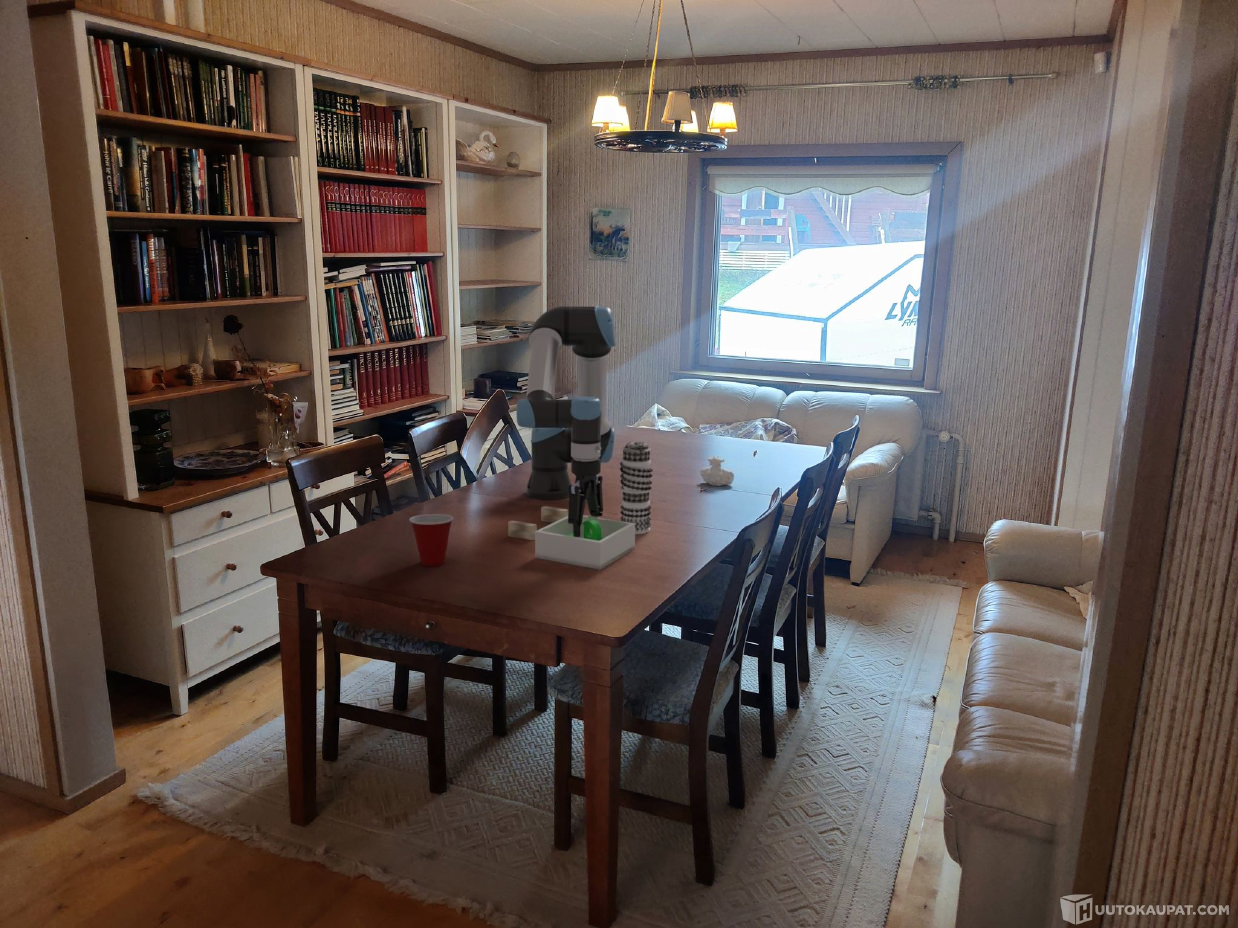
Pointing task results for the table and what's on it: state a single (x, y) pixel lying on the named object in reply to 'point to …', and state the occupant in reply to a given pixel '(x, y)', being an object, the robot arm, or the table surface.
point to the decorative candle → (636, 485)
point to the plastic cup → (431, 537)
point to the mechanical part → (595, 529)
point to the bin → (585, 543)
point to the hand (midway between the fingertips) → (585, 543)
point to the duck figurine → (716, 473)
